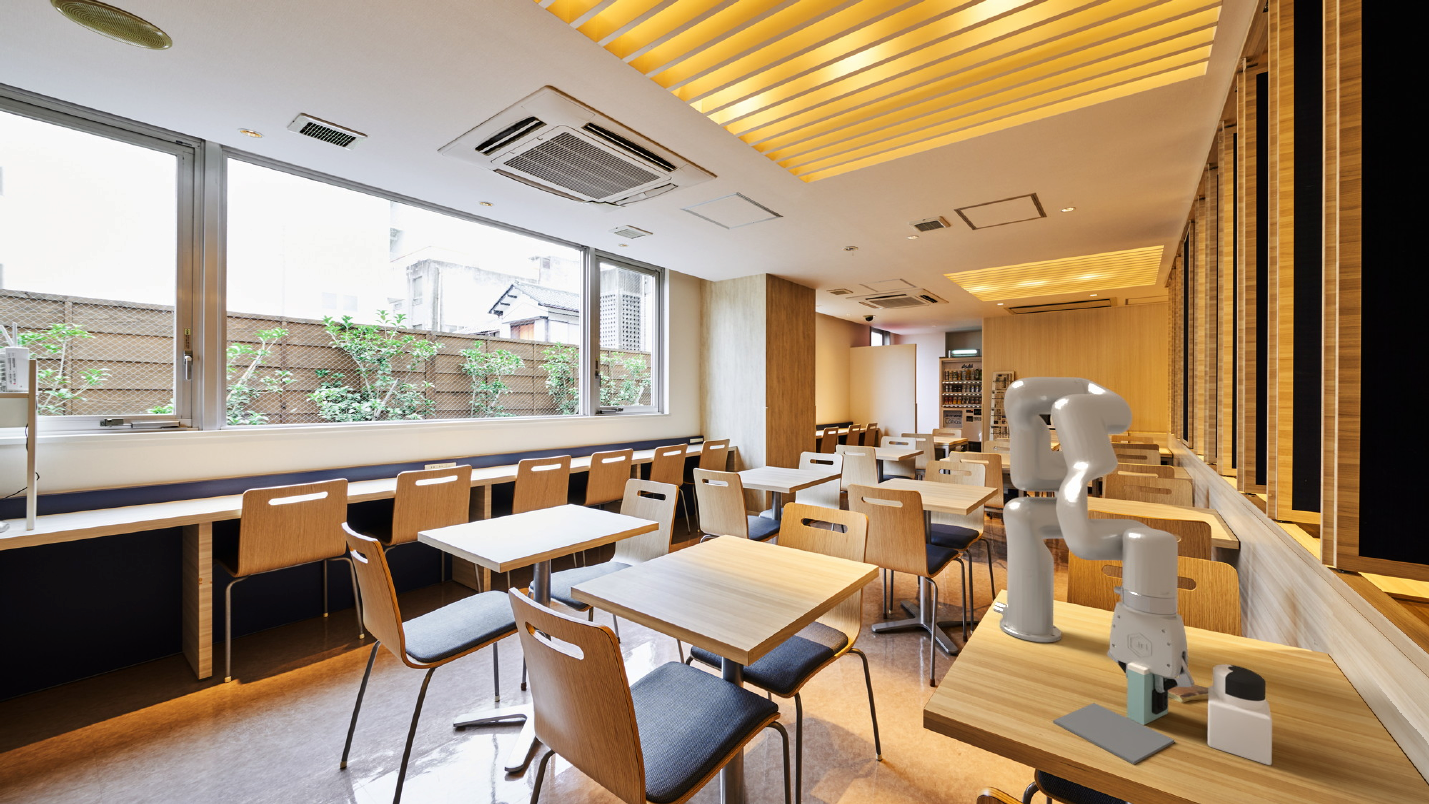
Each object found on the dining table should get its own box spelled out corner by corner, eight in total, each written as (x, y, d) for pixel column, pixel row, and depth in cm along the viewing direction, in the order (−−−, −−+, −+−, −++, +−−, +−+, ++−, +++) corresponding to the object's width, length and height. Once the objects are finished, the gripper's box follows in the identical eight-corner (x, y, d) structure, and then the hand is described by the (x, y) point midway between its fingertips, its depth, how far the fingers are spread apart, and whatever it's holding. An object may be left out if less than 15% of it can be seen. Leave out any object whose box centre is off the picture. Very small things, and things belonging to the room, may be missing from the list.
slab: (1127, 717, 95) (1127, 664, 95) (1151, 705, 99) (1152, 654, 99) (1143, 725, 93) (1144, 670, 93) (1168, 713, 97) (1168, 660, 97)
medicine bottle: (1267, 745, 88) (1268, 669, 88) (1271, 767, 83) (1272, 686, 82) (1207, 727, 93) (1208, 655, 93) (1207, 746, 87) (1208, 670, 87)
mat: (1053, 722, 94) (1053, 720, 94) (1094, 705, 99) (1094, 702, 99) (1133, 764, 83) (1133, 761, 83) (1174, 742, 88) (1174, 739, 88)
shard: (1223, 698, 102) (1224, 689, 102) (1231, 718, 96) (1232, 708, 96) (1149, 681, 109) (1149, 672, 109) (1152, 698, 102) (1152, 688, 102)
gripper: (1087, 590, 101) (1086, 690, 101) (1195, 622, 87) (1194, 738, 87) (1110, 584, 105) (1109, 681, 105) (1218, 613, 90) (1216, 726, 91)
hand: (1147, 706), depth 96 cm, fingers closed on slab, 2 cm apart
